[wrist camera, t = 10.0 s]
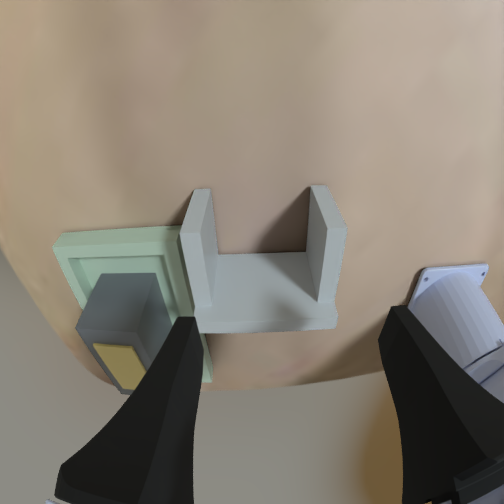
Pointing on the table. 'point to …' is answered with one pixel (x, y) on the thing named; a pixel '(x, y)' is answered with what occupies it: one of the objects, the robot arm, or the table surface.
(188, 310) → the tray
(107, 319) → the grey block yellow label
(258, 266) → the bay
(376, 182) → the table surface
